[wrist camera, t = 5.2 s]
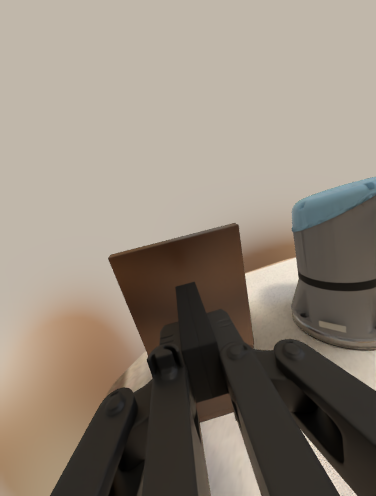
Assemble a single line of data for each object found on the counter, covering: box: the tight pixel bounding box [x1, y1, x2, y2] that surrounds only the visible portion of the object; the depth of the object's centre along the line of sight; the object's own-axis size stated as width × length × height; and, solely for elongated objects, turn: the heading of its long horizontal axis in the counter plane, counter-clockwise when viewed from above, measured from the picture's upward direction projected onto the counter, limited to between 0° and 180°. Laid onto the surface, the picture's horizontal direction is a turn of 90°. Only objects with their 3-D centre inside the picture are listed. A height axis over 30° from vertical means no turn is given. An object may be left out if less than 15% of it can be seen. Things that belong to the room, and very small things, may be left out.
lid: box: [108, 223, 254, 356], centre depth 19 cm, size 14×12×1 cm
